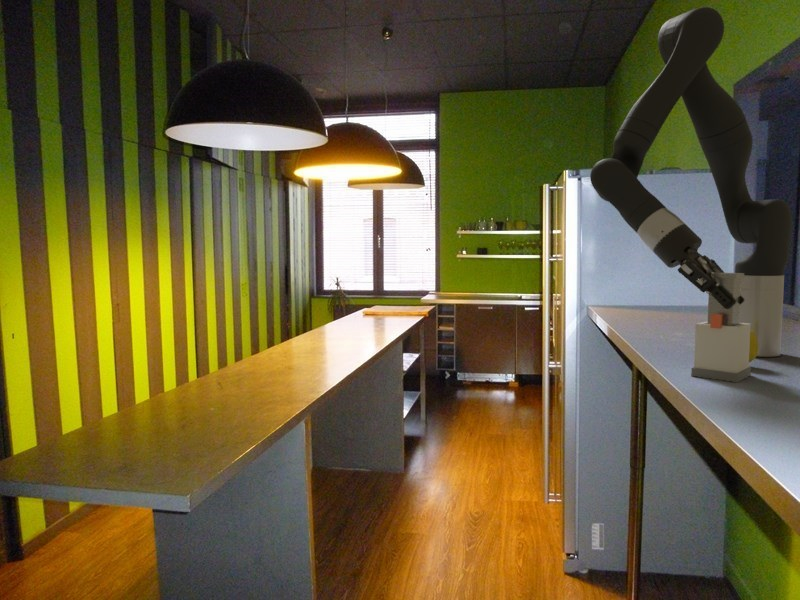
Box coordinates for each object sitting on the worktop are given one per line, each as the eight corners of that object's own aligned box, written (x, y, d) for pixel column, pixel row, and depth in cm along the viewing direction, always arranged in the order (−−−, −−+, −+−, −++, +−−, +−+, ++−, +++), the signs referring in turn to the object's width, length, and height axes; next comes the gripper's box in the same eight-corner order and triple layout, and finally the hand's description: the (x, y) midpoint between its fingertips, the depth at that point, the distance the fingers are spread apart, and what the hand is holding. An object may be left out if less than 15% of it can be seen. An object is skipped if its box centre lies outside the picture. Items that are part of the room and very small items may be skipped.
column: (711, 362, 112) (715, 272, 111) (740, 366, 109) (744, 273, 107) (702, 366, 109) (706, 273, 107) (731, 369, 105) (736, 273, 104)
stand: (706, 369, 114) (708, 309, 113) (750, 375, 109) (753, 312, 108) (690, 376, 108) (693, 313, 107) (736, 382, 103) (739, 316, 102)
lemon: (755, 370, 113) (757, 328, 113) (722, 367, 117) (724, 326, 116) (759, 366, 118) (761, 325, 117) (727, 362, 121) (729, 323, 120)
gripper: (668, 221, 107) (741, 293, 99) (697, 223, 117) (765, 288, 109) (638, 251, 111) (706, 322, 103) (668, 251, 121) (731, 315, 113)
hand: (736, 304), depth 106 cm, fingers closed on column, 4 cm apart
